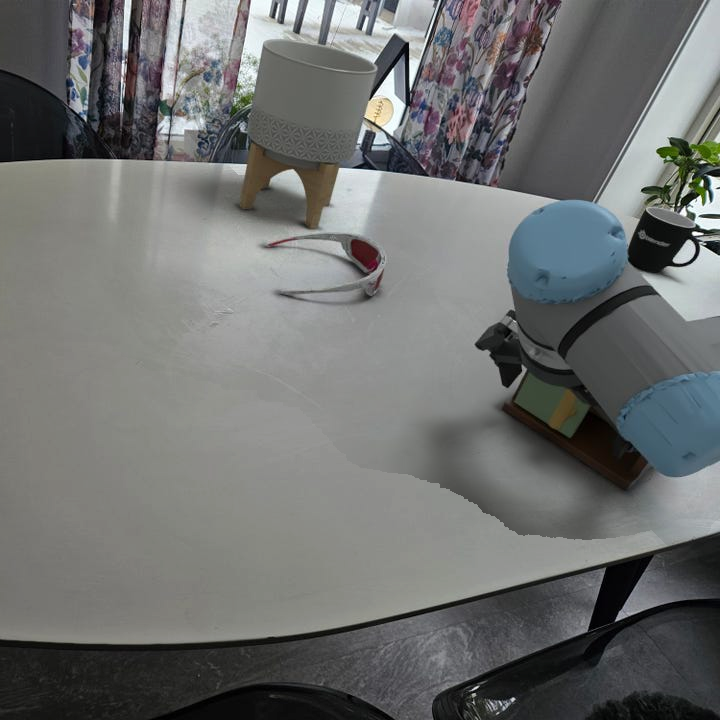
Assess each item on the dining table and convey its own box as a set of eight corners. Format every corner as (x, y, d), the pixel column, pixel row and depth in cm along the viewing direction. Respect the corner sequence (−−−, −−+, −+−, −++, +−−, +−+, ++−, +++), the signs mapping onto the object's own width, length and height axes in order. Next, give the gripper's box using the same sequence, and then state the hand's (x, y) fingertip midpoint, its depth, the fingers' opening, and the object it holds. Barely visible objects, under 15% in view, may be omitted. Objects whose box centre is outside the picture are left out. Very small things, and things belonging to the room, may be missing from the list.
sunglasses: (396, 308, 101) (401, 277, 98) (281, 315, 100) (282, 284, 97) (364, 253, 115) (368, 225, 112) (263, 258, 113) (264, 230, 110)
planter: (268, 231, 116) (304, 68, 101) (216, 185, 128) (242, 34, 114) (356, 225, 125) (401, 75, 110) (300, 183, 138) (333, 43, 123)
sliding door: (573, 436, 81) (616, 363, 75) (551, 452, 78) (594, 378, 72) (516, 400, 85) (553, 328, 79) (493, 414, 82) (530, 340, 76)
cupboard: (659, 458, 83) (722, 371, 75) (626, 490, 77) (690, 398, 69) (540, 385, 92) (585, 300, 84) (501, 408, 85) (547, 318, 78)
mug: (612, 258, 135) (638, 209, 130) (630, 250, 141) (656, 203, 135) (673, 287, 129) (703, 237, 123) (689, 278, 134) (719, 230, 129)
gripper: (421, 295, 67) (452, 376, 84) (682, 452, 53) (653, 509, 71) (471, 236, 67) (491, 329, 85) (743, 377, 53) (699, 453, 71)
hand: (565, 411), depth 78 cm, fingers open, 13 cm apart
